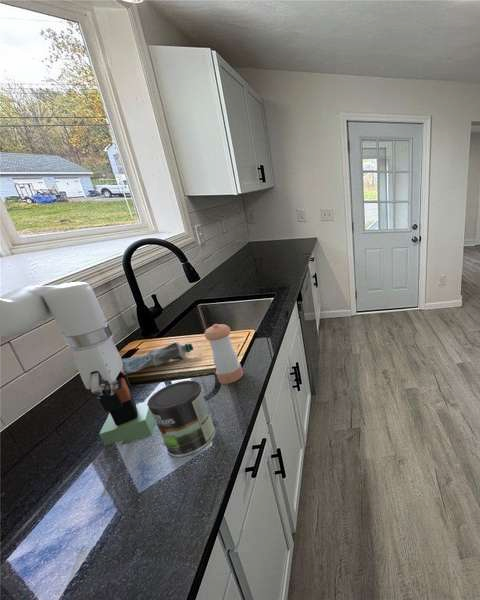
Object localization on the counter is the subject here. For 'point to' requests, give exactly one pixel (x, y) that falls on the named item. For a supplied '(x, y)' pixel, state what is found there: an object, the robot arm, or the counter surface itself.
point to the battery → (123, 403)
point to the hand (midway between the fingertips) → (118, 398)
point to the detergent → (156, 357)
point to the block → (129, 427)
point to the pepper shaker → (223, 354)
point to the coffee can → (182, 418)
